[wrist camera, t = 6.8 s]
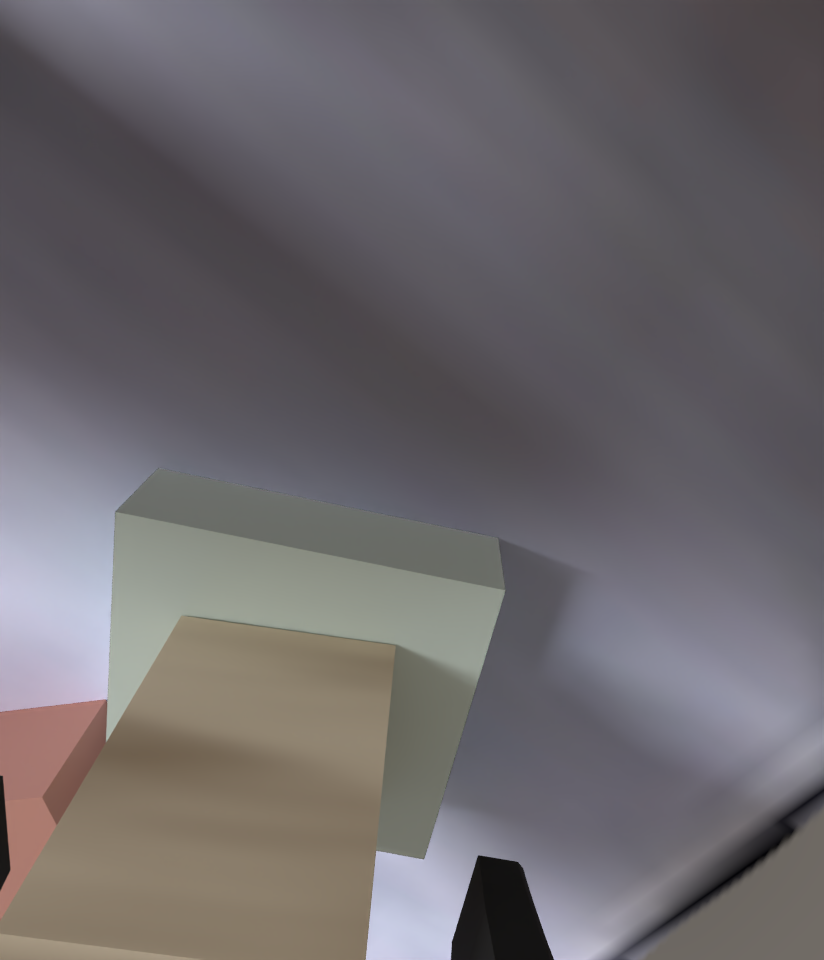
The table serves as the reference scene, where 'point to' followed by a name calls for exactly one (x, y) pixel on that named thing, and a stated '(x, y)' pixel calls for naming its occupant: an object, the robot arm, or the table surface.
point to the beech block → (222, 809)
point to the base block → (316, 608)
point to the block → (43, 775)
